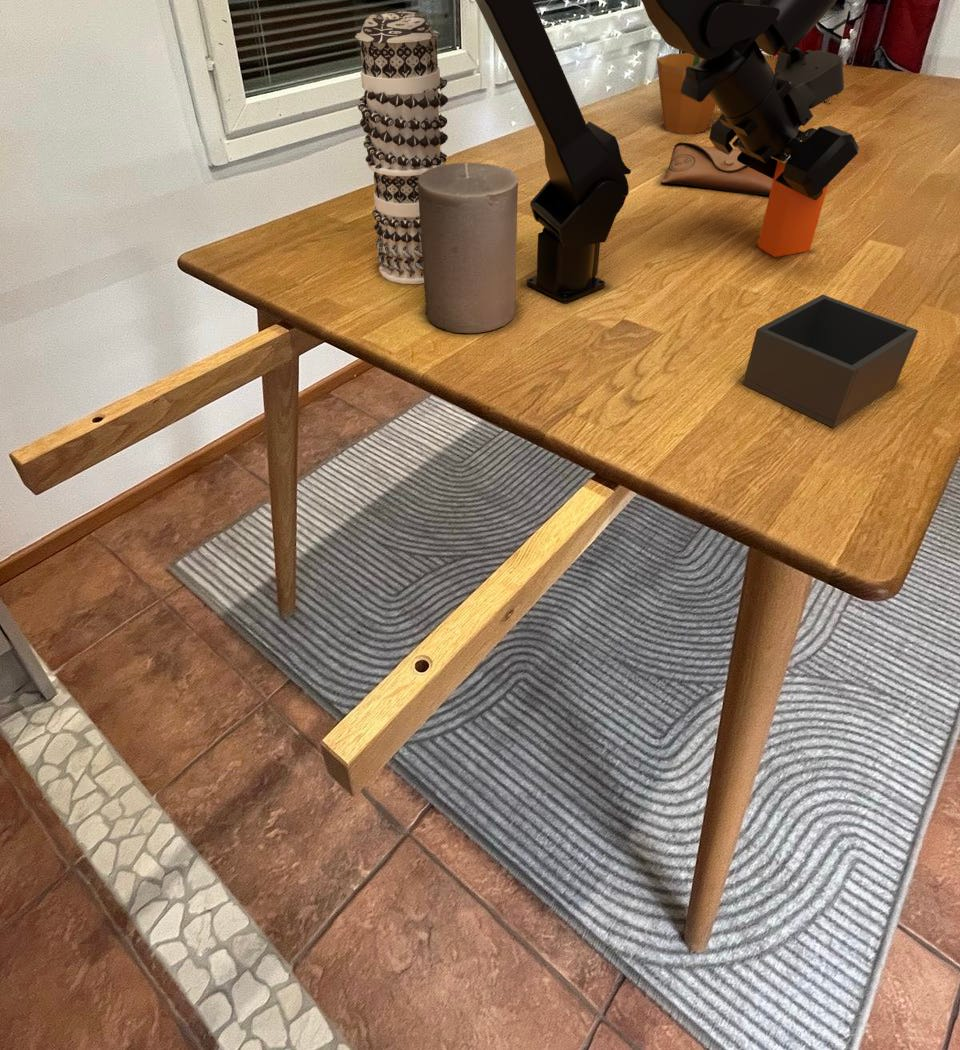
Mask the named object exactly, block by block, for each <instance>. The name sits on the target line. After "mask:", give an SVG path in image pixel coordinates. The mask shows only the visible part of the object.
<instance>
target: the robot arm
mask: <svg viewBox="0 0 960 1050" xmlns="http://www.w3.org/2000/svg"><path fill="white" fill-rule="evenodd" d="M474 1H475V3H476V5H477V6H478V9H479V11H480V13H481V15H482V18H483V19H484V21H485V23H486V26H487V27H488V29H489V31H490V33H491V36H492V37H493V39H494V41H495V43H496V46H497V49H498V50H499V52H500V54H501V56H502V58H503V60H504V62H505V64H506V66H507V69H508V70H509V72H510V74H511V77H512V78H513V81H514V83H515V85H516V87H517V89H518V91H519V93H520V95H521V97H522V99H523V101H524V104H525V105H526V107H527V110H528V111H529V113H530V115H531V118H532V120H533V121H534V123H535V126H536V127H537V129H538V132H539V134H540V136H541V138H542V142H543V149H544V160H545V161H544V163H545V167H546V171H547V175H548V177H549V178H548V179H549V180H547V182H546V183H545V184H544V185H543V187H542V188H541V189H540V190H539V191H538V192H537V194H536V195H535V196H534V197H533V198H532V200H531V201H530V202H529V206H530V209H531V213H532V215H533V219H534V221H536V222H538V223H539V224H541V226H542V227H543V228H542V231H541V232H538V233H537V250H536V251H537V252H536V254H537V255H536V275H535V276H532V277H529V278H527V279H526V285H527V286H528V287H531V288H533V289H535V290H537V291H539V292H541V293H543V294H546V295H547V296H550V297H552V298H553V299H556V300H557V301H560V302H562V303H569V302H571V301H574V300H576V299H579V298H581V297H584V296H587V295H589V294H591V293H592V292H595V291H599V290H600V289H602V288H604V287H605V286H606V281H605V280H604V279H601V278H599V277H597V275H598V270H599V269H598V268H599V258H600V256H599V255H600V248H601V244H603V243H605V242H606V241H607V239H608V237H609V234H610V232H611V230H612V228H613V225H614V223H615V220H616V218H617V215H618V214H619V212H620V211H621V209H622V208H623V206H624V205H625V201H626V199H627V196H628V195H629V192H630V190H629V189H630V185H629V182H628V179H627V178H628V177H627V176H626V175H630V174H631V173H632V170H631V169H630V168H629V167H628V166H627V165H626V163H624V160H623V157H622V154H621V150H620V145H619V142H618V140H617V138H616V136H615V135H613V134H612V133H610V132H608V131H607V130H605V129H603V128H602V127H600V126H598V125H597V124H595V123H594V122H592V121H588V122H586V120H585V118H584V115H583V113H582V111H581V109H580V106H579V104H578V101H577V100H576V98H575V95H574V93H573V90H572V88H571V86H570V83H569V81H568V79H567V77H566V74H565V72H564V70H563V67H562V65H561V62H560V60H559V58H558V56H557V53H556V51H555V49H554V47H553V44H552V42H551V40H550V38H549V36H548V33H547V30H546V28H545V26H544V24H543V22H542V19H541V17H540V15H539V12H538V11H537V8H536V5H535V3H534V1H533V0H474ZM640 1H641V2H642V5H643V7H644V9H645V12H646V14H647V17H648V19H649V21H650V22H651V24H652V25H653V26H654V28H655V30H656V31H657V32H658V34H659V35H660V37H661V38H662V39H663V41H664V42H665V43H666V45H668V46H670V47H672V48H673V49H676V50H679V51H681V52H683V53H689V54H692V55H695V56H697V57H700V58H703V59H702V60H701V61H700V62H699V63H698V64H697V65H695V66H688V67H687V68H686V75H685V79H684V81H683V83H682V87H681V94H682V95H684V96H686V97H688V98H691V99H693V100H695V101H697V102H702V101H703V100H704V99H705V98H706V97H707V95H708V94H710V95H711V97H712V98H713V100H714V101H715V103H716V106H717V107H718V109H719V110H720V112H721V113H722V114H721V115H720V116H718V118H717V120H716V121H715V122H714V123H712V125H711V127H710V130H709V131H710V132H709V138H708V139H709V140H710V142H711V144H712V145H713V147H715V148H716V149H717V150H719V151H721V152H723V153H725V154H727V155H729V154H730V153H731V152H732V150H733V149H738V150H740V151H741V153H740V154H739V155H738V157H737V160H738V162H740V163H742V164H744V165H746V166H748V167H750V168H752V169H754V170H756V171H758V172H760V173H762V174H764V175H766V176H768V177H770V178H772V179H774V175H775V170H776V166H777V162H778V161H779V162H781V163H783V164H785V163H786V164H785V168H784V171H783V172H782V173H781V174H780V175H779V177H778V178H777V179H776V180H775V181H777V182H779V183H780V184H782V185H784V186H786V187H788V188H790V189H792V190H794V191H797V192H799V193H801V194H803V195H805V196H807V197H809V198H811V199H813V200H817V199H818V198H819V197H820V196H821V195H822V194H823V189H824V188H825V187H826V186H827V185H828V186H829V184H830V183H831V182H832V181H833V180H834V178H836V176H837V175H839V173H841V171H842V170H843V169H844V168H845V167H846V166H847V165H848V164H849V163H851V161H852V160H853V159H854V158H855V157H856V156H857V155H858V154H859V148H860V147H859V145H858V143H857V141H856V139H855V137H854V135H853V134H852V133H850V132H847V131H845V130H842V129H839V128H837V127H835V126H832V125H823V126H819V127H818V128H817V129H816V128H815V127H810V128H807V129H806V130H805V131H804V130H801V129H799V128H800V127H801V126H803V127H805V126H806V125H807V124H808V123H809V122H810V121H811V119H812V118H814V115H813V112H812V111H811V110H812V109H814V108H815V107H817V106H820V104H822V103H824V102H823V101H825V102H826V101H828V100H829V99H830V98H832V97H833V96H838V95H839V94H840V93H842V92H843V91H844V90H845V80H844V64H843V60H842V56H839V55H840V54H839V55H838V54H835V53H831V52H828V51H825V50H822V49H821V50H819V49H818V50H811V49H807V50H806V51H805V53H804V52H803V51H804V50H802V49H801V48H799V47H798V45H799V44H800V43H801V42H802V40H803V39H804V38H806V36H807V35H808V34H809V33H810V32H811V30H812V29H813V28H815V26H816V25H817V24H818V23H819V22H820V21H821V19H822V18H823V17H824V16H825V15H826V14H827V13H828V11H830V10H831V8H832V7H833V6H834V5H835V4H836V3H837V1H838V0H640ZM764 53H765V54H766V55H769V56H772V57H774V56H775V55H777V59H776V63H775V68H774V71H773V69H772V67H771V65H770V63H769V62H768V61H767V59H766V57H765V55H764ZM777 53H778V54H777ZM842 64H843V65H842ZM733 139H735V140H734V141H733V142H732V140H733ZM731 142H732V143H731ZM731 144H732V145H731Z"/></svg>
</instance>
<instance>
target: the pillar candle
mask: <svg viewBox="0 0 960 1050" xmlns="http://www.w3.org/2000/svg"><path fill="white" fill-rule="evenodd" d="M518 190H519V177H518V176H517V174H516V173H515V172H513V171H512V169H511V168H508V167H505V166H499V165H495V164H489V163H482V162H455V163H447V164H445V165H442V166H438V167H435V168H431V169H430V170H427V171H426V172H423V173H422V174H421V175H420V176H419V179H418V194H419V214H420V226H421V247H422V256H423V268H424V270H423V272H424V283H423V289H424V298H425V300H424V301H425V312H424V314H425V316H426V318H427V321H429V323H431V324H432V325H433V326H435V327H437V328H439V329H442V330H445V331H446V332H451V333H459V334H478V333H485V332H491V331H494V330H496V329H499V328H502V327H504V326H506V325H507V324H508V323H510V322H511V321H512V320H513V318H514V317H515V312H516V299H517V297H516V294H517V246H518V245H517V243H518V242H517V241H518V237H517V236H518V197H519V196H518V195H519V194H518V193H519V191H518Z"/></svg>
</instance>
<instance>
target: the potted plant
mask: <svg viewBox="0 0 960 1050" xmlns="http://www.w3.org/2000/svg"><path fill="white" fill-rule="evenodd" d="M702 59H703V58H700V57H697V56H695V55H692V54H689V53H686V52H681V53H668V54H666V55H662V56H660V57H657V58H656V67H657V75H658V85H659V95H660V103H661V105H660V106H661V112H662V113H661V115H662V123H663V128H664V129H665V131H667V132H671V133H675V134H682V135H683V134H685V135H688V134H689V135H695V134H699V133H704V132H706V130H707V127H708V125H709V123H710V120H711V118H712V116H713V114H714V110H715V108H716V106H717V104H716V103H715V101H714V100H713V98H712V97H711V95H710V94H708V95H707V97H706V98H705V99H704V100H703V101H702V102H697V101H695V100H693V99H691V98H688V97H686V96H684V95H682V94H681V87H682V83H683V81H684V79H685V75H686V68H687V67H688V66H695V65H697V64H698V63H699V62H700V61H701V60H702Z"/></svg>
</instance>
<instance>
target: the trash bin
mask: <svg viewBox="0 0 960 1050" xmlns="http://www.w3.org/2000/svg"><path fill="white" fill-rule="evenodd" d="M918 332H919V330H918V329H916V328H913V327H910V326H909V325H905V324H903V323H900V322H898V321H895V320H892V319H890V318H886V317H884V316H881V315H879V314H876V313H874V312H871V311H869V310H865V309H863V308H860V307H857V306H856V305H855V306H854V305H852V304H849V303H847V302H844V301H841V300H838V299H837V298H834V297H831V296H828V295H827V294H821V295H818V296H817V297H814V298H813V299H811V300H809V301H808V302H806V303H804V304H802V305H800V306H798V307H796V308H794V309H792V310H790V311H788V312H786V313H784V314H782V315H781V316H779V317H777V318H774V319H773V320H771V321H769V322H767V323H766V324H764V325H762V326H760V327H758V328H757V329H756V331H755V335H754V339H753V343H752V347H751V350H750V355H749V358H748V362H747V365H746V370H745V374H744V379H743V381H742V385H744V386H745V387H747V388H749V389H751V390H753V391H755V392H758V393H760V394H762V395H763V396H766V397H768V398H769V399H772V400H773V401H776V402H777V403H780V404H783V405H784V406H785V407H786V406H787V407H788V408H790V409H792V410H795V411H797V412H798V413H800V414H803V415H805V416H807V417H809V418H811V419H813V420H815V421H817V422H819V423H821V424H823V425H825V426H828V427H829V428H832V429H835V428H836V427H837V426H839V425H840V424H841V423H843V422H844V421H846V420H847V419H849V418H850V417H852V416H853V415H855V414H857V413H858V412H859V411H861V410H862V409H864V408H865V407H867V406H868V405H869V404H871V403H873V402H874V401H875V400H877V399H878V398H880V397H881V396H883V395H884V394H886V393H887V392H889V391H890V390H892V389H893V388H895V387H896V385H897V384H898V381H899V379H900V376H901V374H902V371H903V369H904V366H905V364H906V361H907V359H908V356H909V354H910V352H911V350H912V347H913V345H914V342H915V340H916V337H917V335H918Z"/></svg>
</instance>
